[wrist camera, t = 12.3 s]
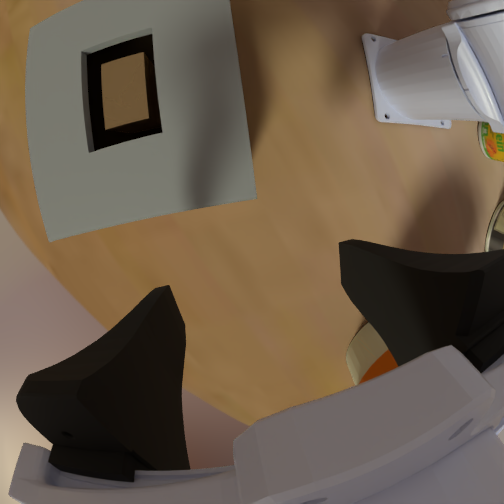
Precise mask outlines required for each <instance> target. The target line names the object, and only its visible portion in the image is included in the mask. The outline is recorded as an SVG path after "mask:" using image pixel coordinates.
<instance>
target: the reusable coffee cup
mask: <svg viewBox="0 0 504 504" xmlns="http://www.w3.org/2000/svg"><path fill="white" fill-rule="evenodd" d="M346 362H347V365H348V368H349V370H350V373H351V375H352V378H353V381H354V383H355V386H356V385H358V384H361V383H363V382H366V381H368V380H370V379H373V378H375V377H377V376H380V375H382V374H384V373H386V372H389V371H391V370H393V369H395V368H397V367H398V365H397V363H396V361H395V359H394V357H393V356H392V354H391V352H390V351H389V349H388V347H387V346H386V344H385V342H384V341H383V339H382V338H381V337H380V335H379V334H378V333H377V331H376V330H375V329H374V328H373V327H372V325H371V324H370V323H367V324H366V325H365V326H364V327H363V328H362V329H361V330H360V331H359V332H358V333H357V334H356V336H355V337H354V338H353V340H352V341H351V343H350V345H349V347H348V350H347V354H346Z"/></svg>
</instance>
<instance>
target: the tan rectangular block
mask: <svg viewBox="0 0 504 504" xmlns="http://www.w3.org/2000/svg"><path fill="white" fill-rule="evenodd" d="M101 78H102V98H103V111H104V121H105V130H110V131H117V132H123V133H129V134H132V133H136V132H140V131H144V130H149V129H153V128H158V127H162V125H161V117H160V109H159V101H158V93H157V84H156V74H155V67H154V66H153V64H152V63H151V61H150V60H149V59H148V57H147V56H146V54H145V53H144V52H141V53H138V54H134V55H130V56H127V57H123V58H120V59H117V60H114V61H111V62H108V63H105V64H102V65H101Z"/></svg>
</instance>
